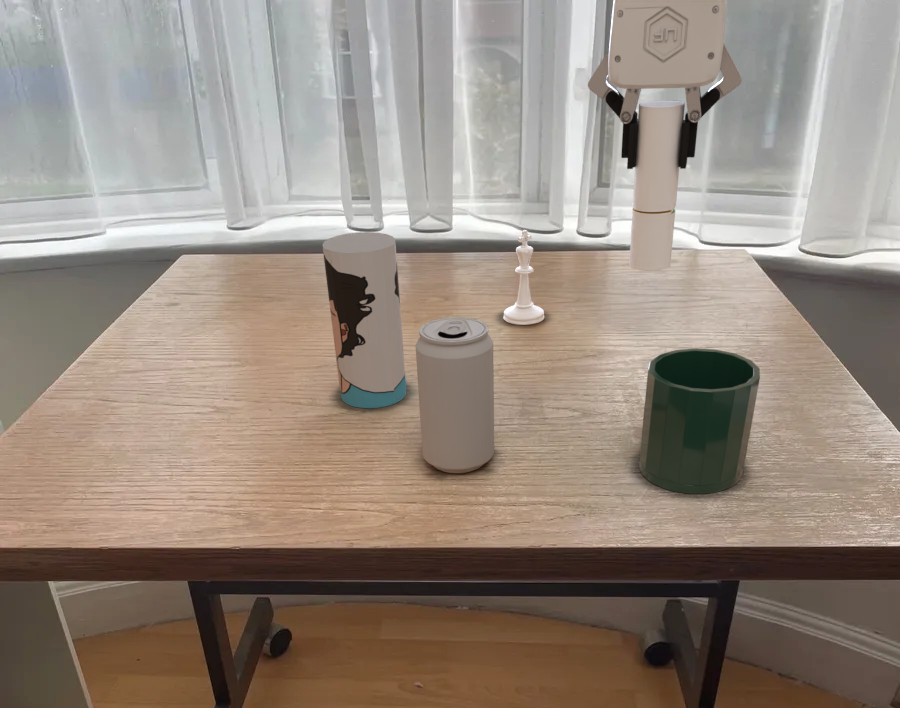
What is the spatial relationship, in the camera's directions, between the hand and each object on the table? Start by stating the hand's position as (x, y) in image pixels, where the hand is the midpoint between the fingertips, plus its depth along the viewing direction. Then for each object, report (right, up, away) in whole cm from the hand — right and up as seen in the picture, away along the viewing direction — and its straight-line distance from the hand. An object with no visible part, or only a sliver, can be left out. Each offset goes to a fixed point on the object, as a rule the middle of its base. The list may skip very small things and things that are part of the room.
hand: (657, 163), depth 89 cm
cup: (-28, -22, +3) cm, 36 cm away
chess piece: (-12, -9, +19) cm, 24 cm away
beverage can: (-20, -31, -9) cm, 38 cm away
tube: (+1, -8, +6) cm, 10 cm away
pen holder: (0, -32, -12) cm, 34 cm away
